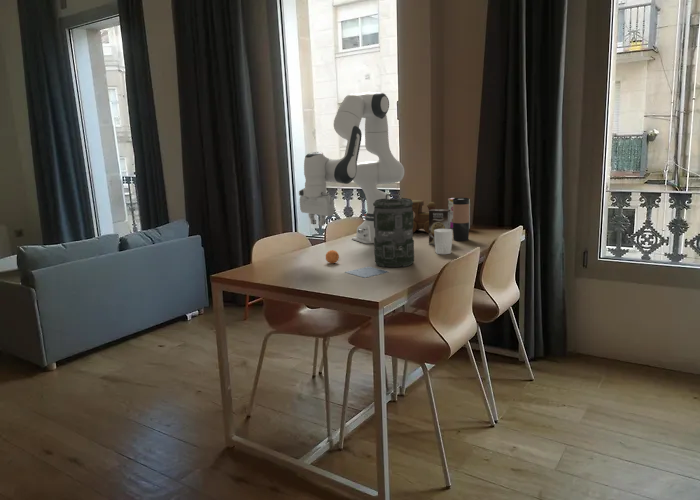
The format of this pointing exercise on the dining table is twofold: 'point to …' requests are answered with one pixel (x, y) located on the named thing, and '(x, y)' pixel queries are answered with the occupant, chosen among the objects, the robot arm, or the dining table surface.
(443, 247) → the white cup
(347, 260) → the dining table surface
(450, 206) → the candy bar box
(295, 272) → the dining table surface
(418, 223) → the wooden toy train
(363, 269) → the mark
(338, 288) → the dining table surface
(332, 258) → the ball
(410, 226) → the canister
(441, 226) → the coffee box
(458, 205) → the travel mug
